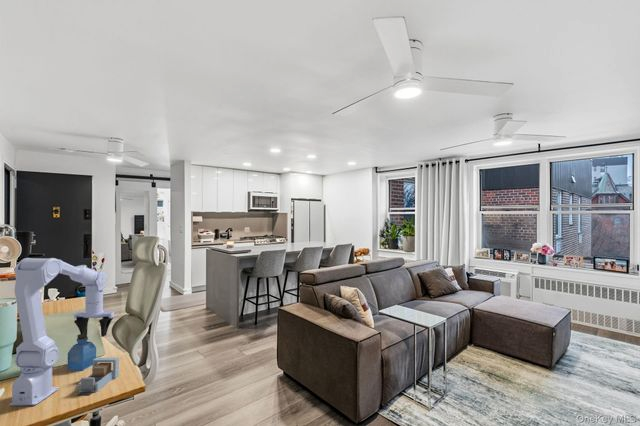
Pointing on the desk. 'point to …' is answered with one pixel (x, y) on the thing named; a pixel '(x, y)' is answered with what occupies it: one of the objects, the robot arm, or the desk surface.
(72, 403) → the desk surface
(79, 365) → the perfume bottle
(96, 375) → the walnut block
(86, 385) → the sled
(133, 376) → the desk surface
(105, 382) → the arch track
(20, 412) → the desk surface
